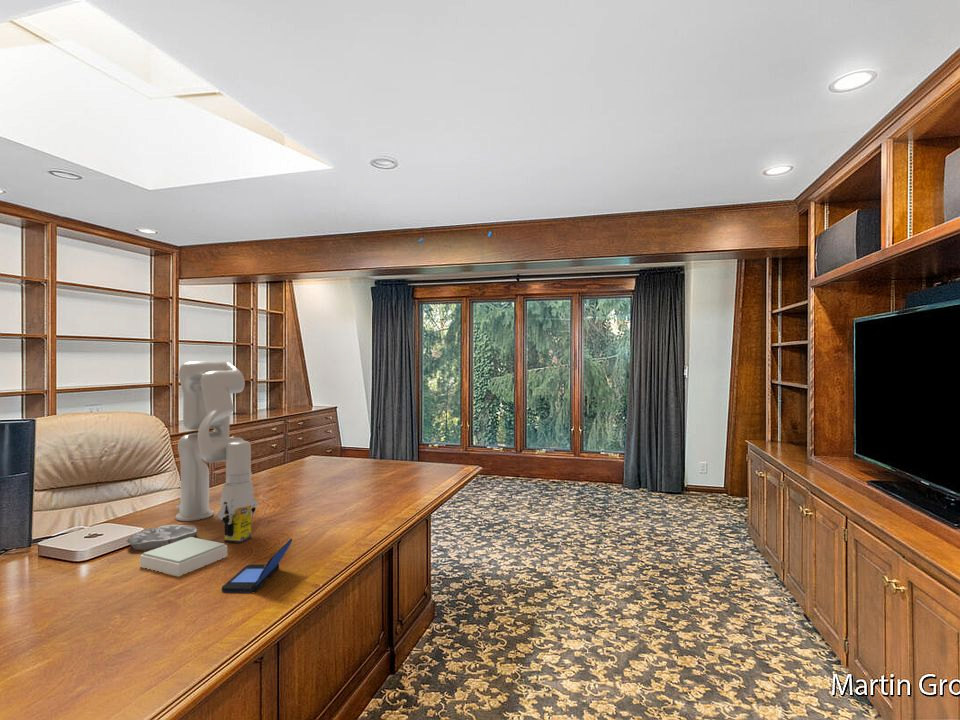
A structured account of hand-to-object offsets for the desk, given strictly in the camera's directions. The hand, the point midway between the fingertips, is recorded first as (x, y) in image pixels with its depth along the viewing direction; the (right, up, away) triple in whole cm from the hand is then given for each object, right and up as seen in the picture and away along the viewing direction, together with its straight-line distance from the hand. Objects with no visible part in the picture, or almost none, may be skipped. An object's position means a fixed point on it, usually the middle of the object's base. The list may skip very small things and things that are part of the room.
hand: (238, 531), depth 172 cm
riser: (-7, -3, -19) cm, 20 cm away
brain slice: (-25, -3, -1) cm, 25 cm away
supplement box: (0, -3, 0) cm, 3 cm away
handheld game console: (+20, -3, -31) cm, 37 cm away
